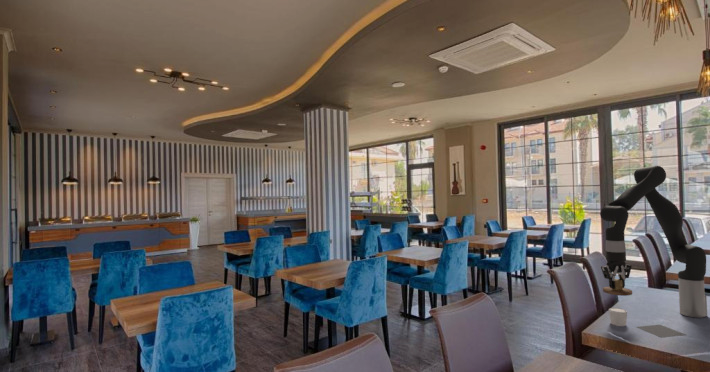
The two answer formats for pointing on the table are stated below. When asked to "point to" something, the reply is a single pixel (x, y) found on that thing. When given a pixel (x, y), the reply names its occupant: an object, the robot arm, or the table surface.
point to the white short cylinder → (618, 316)
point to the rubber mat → (661, 331)
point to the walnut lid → (618, 289)
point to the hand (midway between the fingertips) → (617, 287)
